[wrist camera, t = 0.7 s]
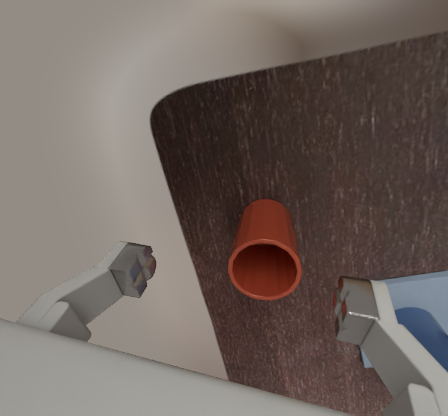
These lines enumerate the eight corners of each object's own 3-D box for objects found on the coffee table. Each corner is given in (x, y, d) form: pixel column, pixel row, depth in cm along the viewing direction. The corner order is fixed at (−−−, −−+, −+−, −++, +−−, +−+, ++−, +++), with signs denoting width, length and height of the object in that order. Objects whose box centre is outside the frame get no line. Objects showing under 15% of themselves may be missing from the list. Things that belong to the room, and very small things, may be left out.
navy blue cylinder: (377, 310, 33) (419, 390, 24) (435, 303, 31) (504, 387, 22) (383, 346, 35) (424, 433, 26) (437, 342, 33) (502, 433, 24)
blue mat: (347, 284, 33) (349, 289, 32) (456, 269, 30) (462, 274, 29) (362, 361, 38) (364, 367, 37) (458, 354, 34) (463, 361, 34)
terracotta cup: (233, 205, 32) (218, 247, 22) (285, 193, 30) (292, 232, 21) (247, 249, 34) (239, 304, 24) (297, 240, 32) (308, 295, 23)
